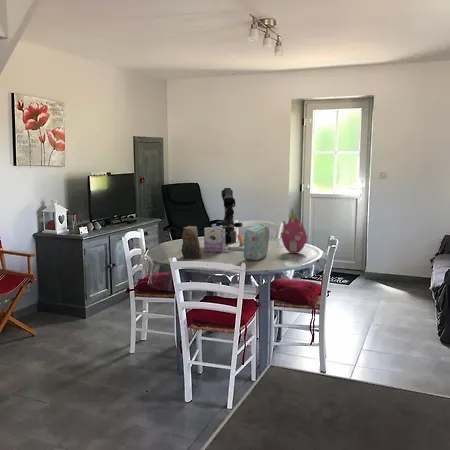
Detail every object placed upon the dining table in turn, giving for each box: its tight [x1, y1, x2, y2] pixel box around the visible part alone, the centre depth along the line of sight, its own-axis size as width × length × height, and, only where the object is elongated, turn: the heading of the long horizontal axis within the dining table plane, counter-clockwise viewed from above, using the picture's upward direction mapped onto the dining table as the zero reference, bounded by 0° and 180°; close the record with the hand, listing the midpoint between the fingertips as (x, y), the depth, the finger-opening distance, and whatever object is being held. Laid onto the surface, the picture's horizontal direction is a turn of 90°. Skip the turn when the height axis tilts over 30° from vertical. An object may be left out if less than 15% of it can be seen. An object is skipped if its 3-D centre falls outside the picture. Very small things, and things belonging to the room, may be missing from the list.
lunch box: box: [243, 223, 270, 261], centre depth 317 cm, size 27×10×21 cm, turn 159°
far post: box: [230, 230, 237, 245], centre depth 364 cm, size 5×5×10 cm
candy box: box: [203, 226, 226, 254], centre depth 338 cm, size 14×6×16 cm, turn 65°
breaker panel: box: [227, 242, 244, 251], centre depth 350 cm, size 16×14×4 cm
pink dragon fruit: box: [280, 208, 308, 254], centre depth 330 cm, size 18×14×30 cm
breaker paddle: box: [236, 233, 244, 245], centre depth 350 cm, size 2×6×8 cm, turn 158°
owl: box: [181, 225, 202, 260], centre depth 320 cm, size 13×13×20 cm
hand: (229, 236), depth 353 cm, fingers closed
